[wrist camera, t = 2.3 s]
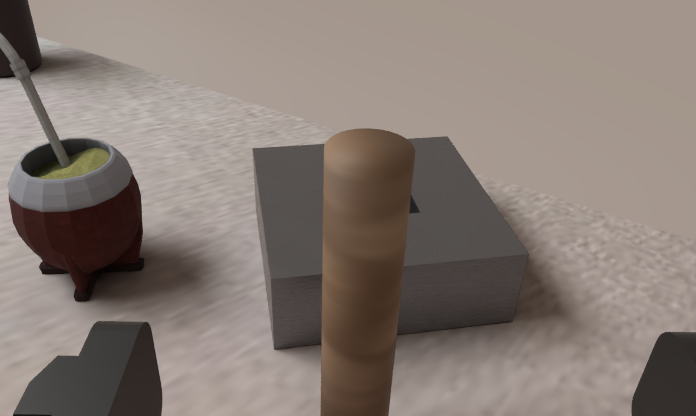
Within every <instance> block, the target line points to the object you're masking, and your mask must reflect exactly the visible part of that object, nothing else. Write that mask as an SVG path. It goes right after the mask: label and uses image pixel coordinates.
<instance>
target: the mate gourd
mask: <svg viewBox="0 0 696 416" xmlns="http://www.w3.org/2000/svg"><path fill="white" fill-rule="evenodd" d="M0 48H1V49H2V51H3V52H4V53H5V55H6V56H7V57H8V59H9V61H10V62H11V64H10V67H11V69H12V71H14V74H15V76H16V78H17V80H19V79H20V81H21V83H22V85H23V88H24V90H25V92H26V94H27V96H28V98H29V100H30V102H31V104H32V107H33V109H34V111H35V113H36V115H37V117H38V119H39V121H40V123H41V125H42V127H43V130H44V132H45V134H46V136H47V138H48V140H49V142H48V143H45V144H42V145H40V146H37V147H35V148H33V149H32V150H30V151H29V152H27V153H25V154H24V155H23V156H22V157H21V159H20V160H19V162H18V163H17V165H16V166H15V168H14V170H13V172H12V174H11V177H10V180H9V182H8V188H9V202H10V208H11V213H12V219H13V223H14V225H15V228H16V230H17V232H18V234H19V235H20V237H21V238H22V239H23V240H24V242H25V243H26V244H27V245H28V246H29V247H30V248H31V249H32V250H33V252H34V253H36V254H37V255H38V256H39V257H41V259H42V261H43V262H41V264H40V266H39V268H40V270H41V271H42V274H64V273H70V275H71V277H72V279H73V281H74V283H75V285H76V289H75V293H74V298H75V301H77V302H79V301H87V300H89V297H90V295H91V293H92V290H93V287H94V284H95V282H96V279H97V277H98V274H100V273H102V272H121V271H141V270H142V269H143V268H144V258H139V253H140V247H141V242H142V234H143V227H142V206H141V194H140V190H139V187H138V183H137V181H136V179H135V177H134V175H133V172H132V169H131V167H130V165H129V163H128V161H127V159H126V158H125V157H124V156H123V155H122V154H121V153H120V152H119V151H118V150H116V149H115V148H114V147H113V146H111V145H109V144H107V143H105V142H104V141H101V140H97V139H91V138H66V139H61V140H59V138H58V136H57V134H56V132H55V130H54V127H53V125H52V123H51V121H50V119H49V117H48V115H47V113H46V110H45V108H44V106H43V104H42V102H41V100H40V98H39V95H38V93H37V91H36V89H35V87H34V85H33V82H32V80H31V78H30V75H31V73H30V71H29V69H28V67H26V66H27V65H26V63H25V61H24V59H20V57H19V56H18V54H17V52H16V51H15V50H14V48H13V47H12V46H11V45H10V43H9V42H8V41H7V39H6V38H5V37H4V36H3V35H2V34H1V33H0Z"/></svg>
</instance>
